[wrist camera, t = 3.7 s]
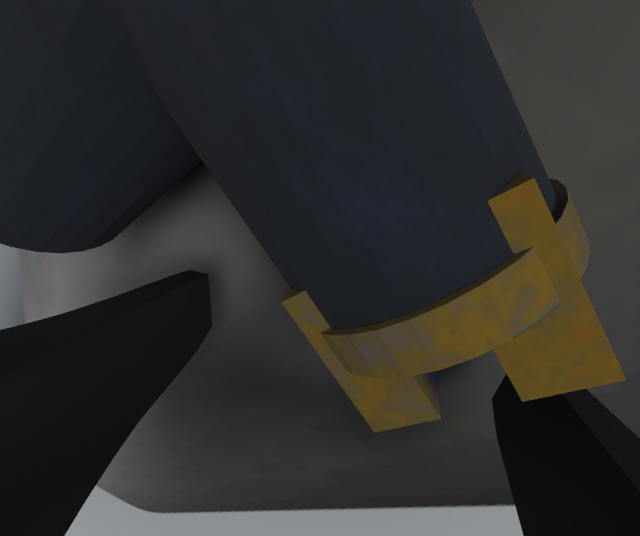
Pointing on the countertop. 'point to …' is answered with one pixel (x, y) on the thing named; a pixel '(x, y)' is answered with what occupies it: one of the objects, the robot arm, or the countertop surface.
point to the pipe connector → (315, 175)
